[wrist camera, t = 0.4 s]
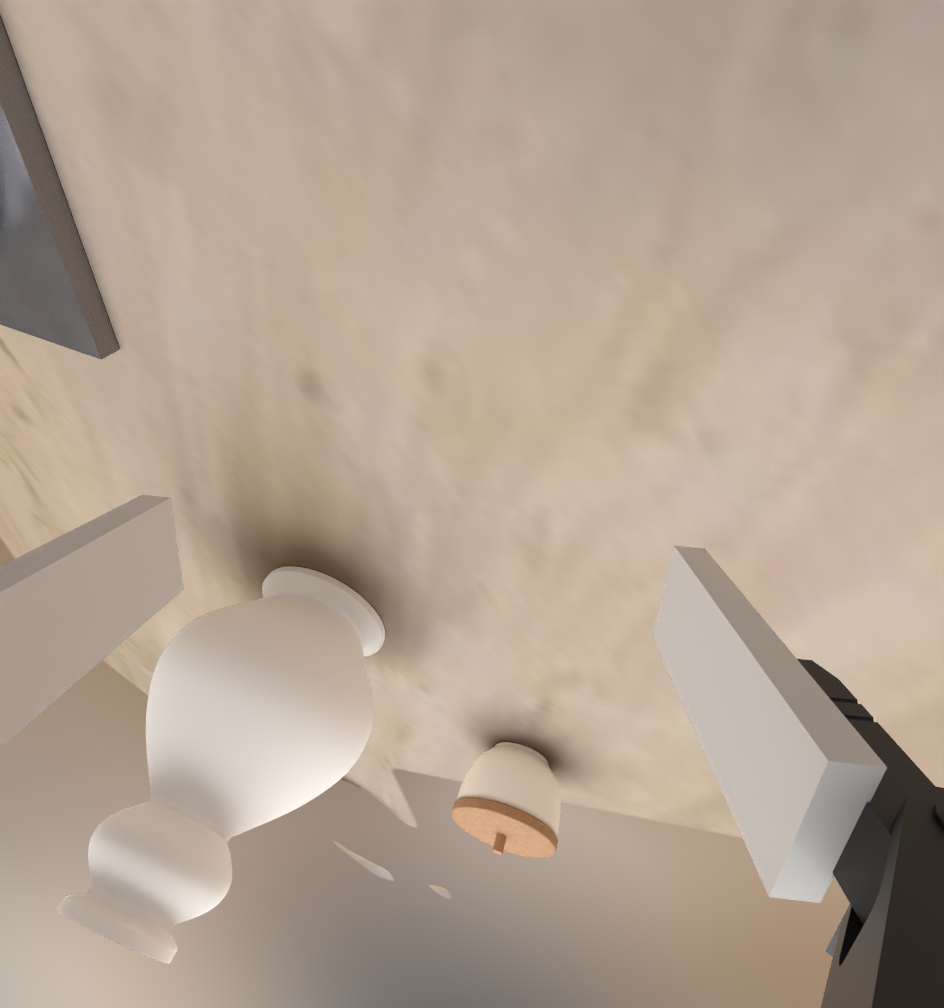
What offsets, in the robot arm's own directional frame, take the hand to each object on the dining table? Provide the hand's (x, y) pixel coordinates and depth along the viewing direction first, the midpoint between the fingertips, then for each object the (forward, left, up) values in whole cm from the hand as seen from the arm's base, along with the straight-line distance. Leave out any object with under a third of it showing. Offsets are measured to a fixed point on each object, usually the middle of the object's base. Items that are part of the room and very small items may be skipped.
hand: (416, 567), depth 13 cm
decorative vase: (+33, -13, -16) cm, 38 cm away
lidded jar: (+47, +10, -16) cm, 50 cm away
